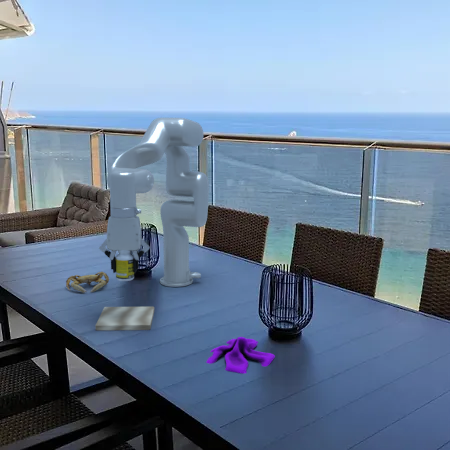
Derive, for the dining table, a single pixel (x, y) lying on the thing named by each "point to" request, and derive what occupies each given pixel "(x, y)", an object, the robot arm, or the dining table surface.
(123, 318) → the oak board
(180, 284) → the robot arm
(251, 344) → the cloth
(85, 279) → the crab model
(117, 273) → the supplement bottle
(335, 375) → the dining table surface
